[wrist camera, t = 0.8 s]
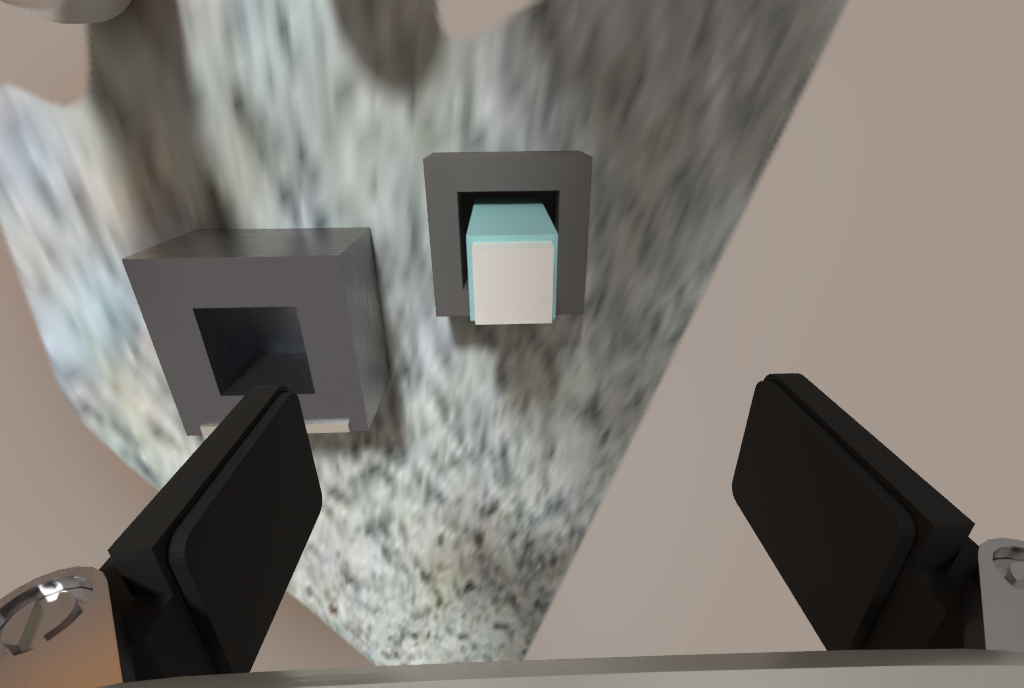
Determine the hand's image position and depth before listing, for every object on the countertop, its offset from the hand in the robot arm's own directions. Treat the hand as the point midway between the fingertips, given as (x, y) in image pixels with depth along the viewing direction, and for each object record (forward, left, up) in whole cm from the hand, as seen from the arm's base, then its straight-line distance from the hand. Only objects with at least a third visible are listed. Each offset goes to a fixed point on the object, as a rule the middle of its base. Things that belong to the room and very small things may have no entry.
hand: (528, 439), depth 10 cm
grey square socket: (0, 0, -20) cm, 20 cm away
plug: (0, 0, -19) cm, 19 cm away
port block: (+5, -13, -20) cm, 25 cm away
